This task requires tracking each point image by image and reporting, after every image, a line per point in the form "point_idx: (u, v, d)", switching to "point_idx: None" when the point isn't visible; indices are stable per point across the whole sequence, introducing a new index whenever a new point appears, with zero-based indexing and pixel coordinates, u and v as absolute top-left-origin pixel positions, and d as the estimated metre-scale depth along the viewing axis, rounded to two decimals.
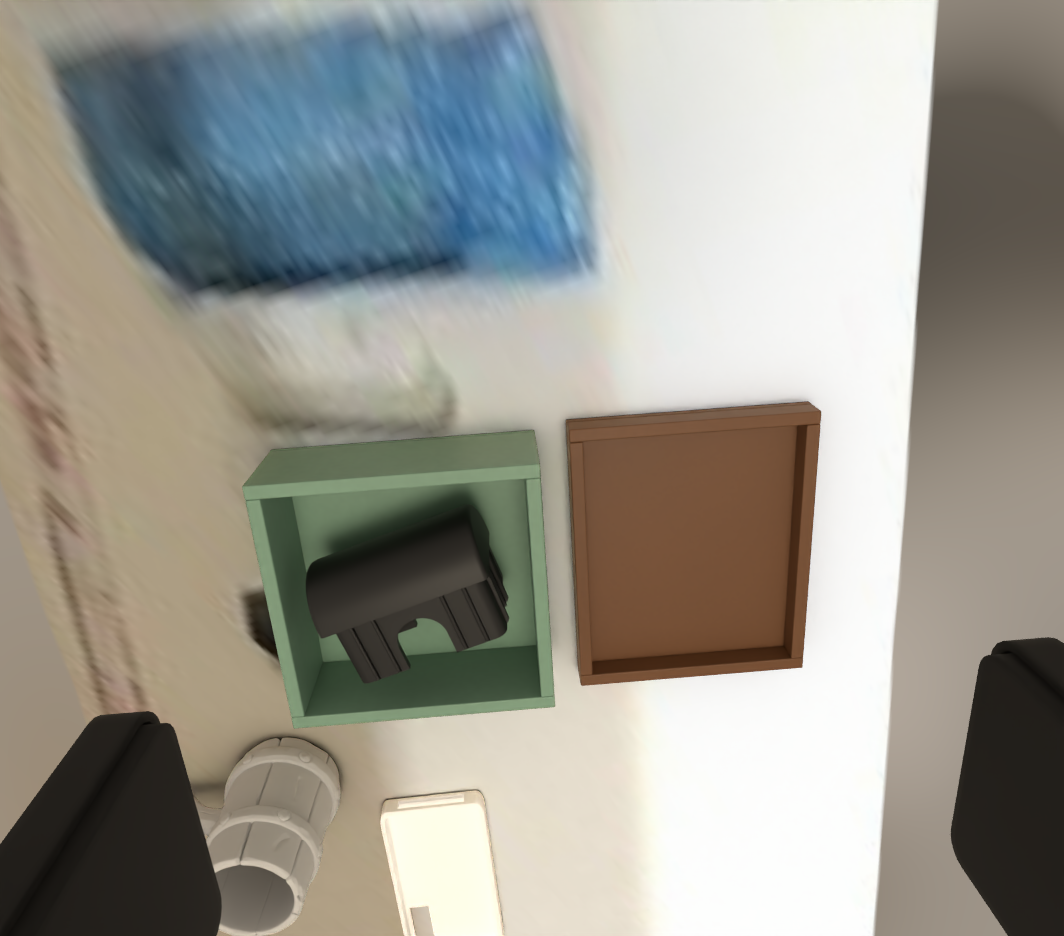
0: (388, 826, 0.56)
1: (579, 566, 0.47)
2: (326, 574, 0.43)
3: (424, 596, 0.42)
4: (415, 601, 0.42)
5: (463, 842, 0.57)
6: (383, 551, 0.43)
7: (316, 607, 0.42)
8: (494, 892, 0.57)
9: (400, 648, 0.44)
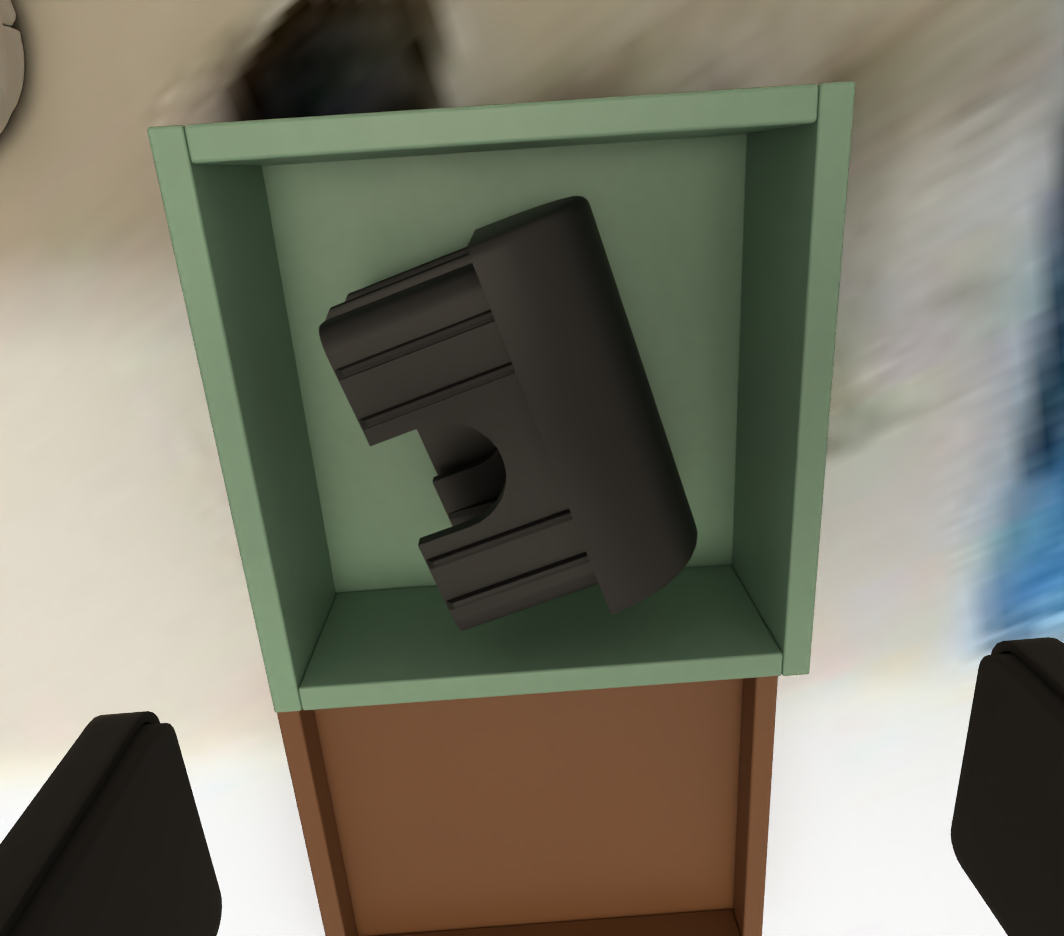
0: None
1: None
2: (598, 255, 0.19)
3: (577, 496, 0.19)
4: (566, 477, 0.19)
5: None
6: (643, 383, 0.20)
7: (545, 242, 0.17)
8: None
9: (421, 424, 0.19)
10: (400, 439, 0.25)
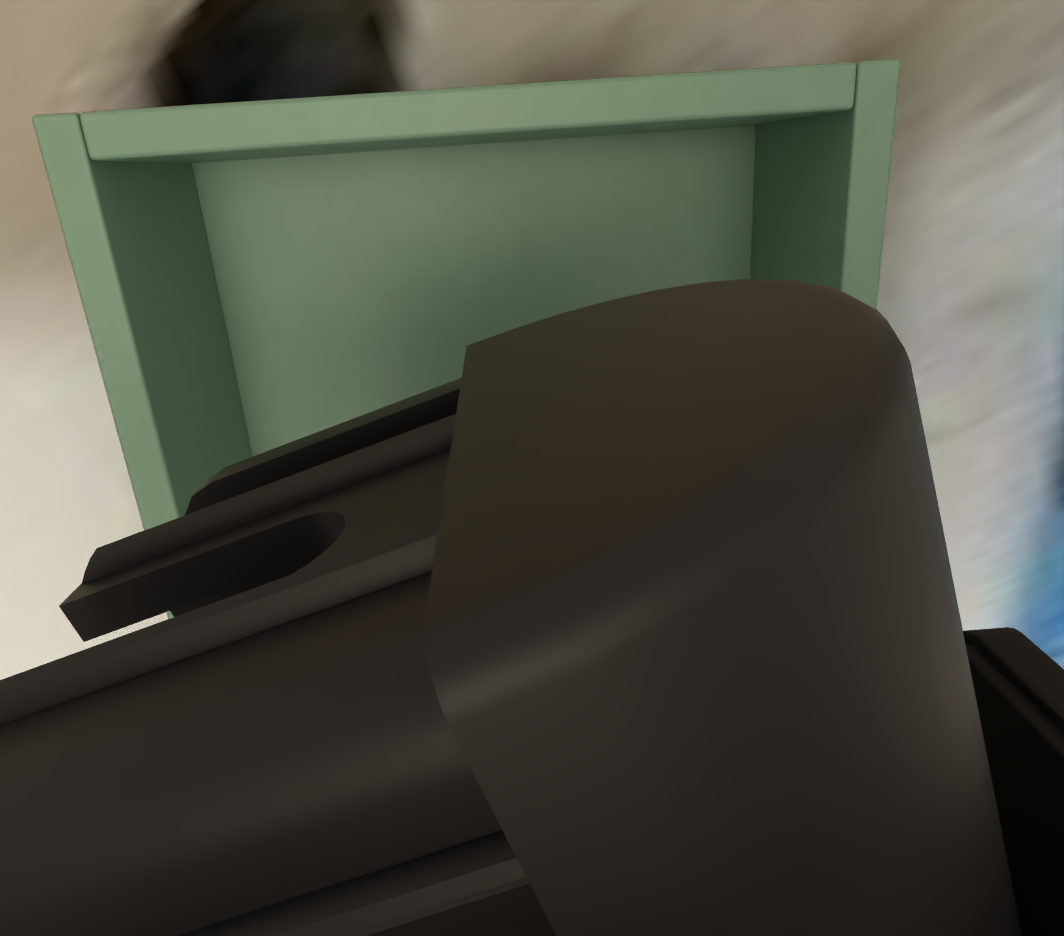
0: None
1: None
2: (941, 532, 0.05)
3: None
4: None
5: None
6: None
7: (816, 571, 0.03)
8: None
9: None
10: None
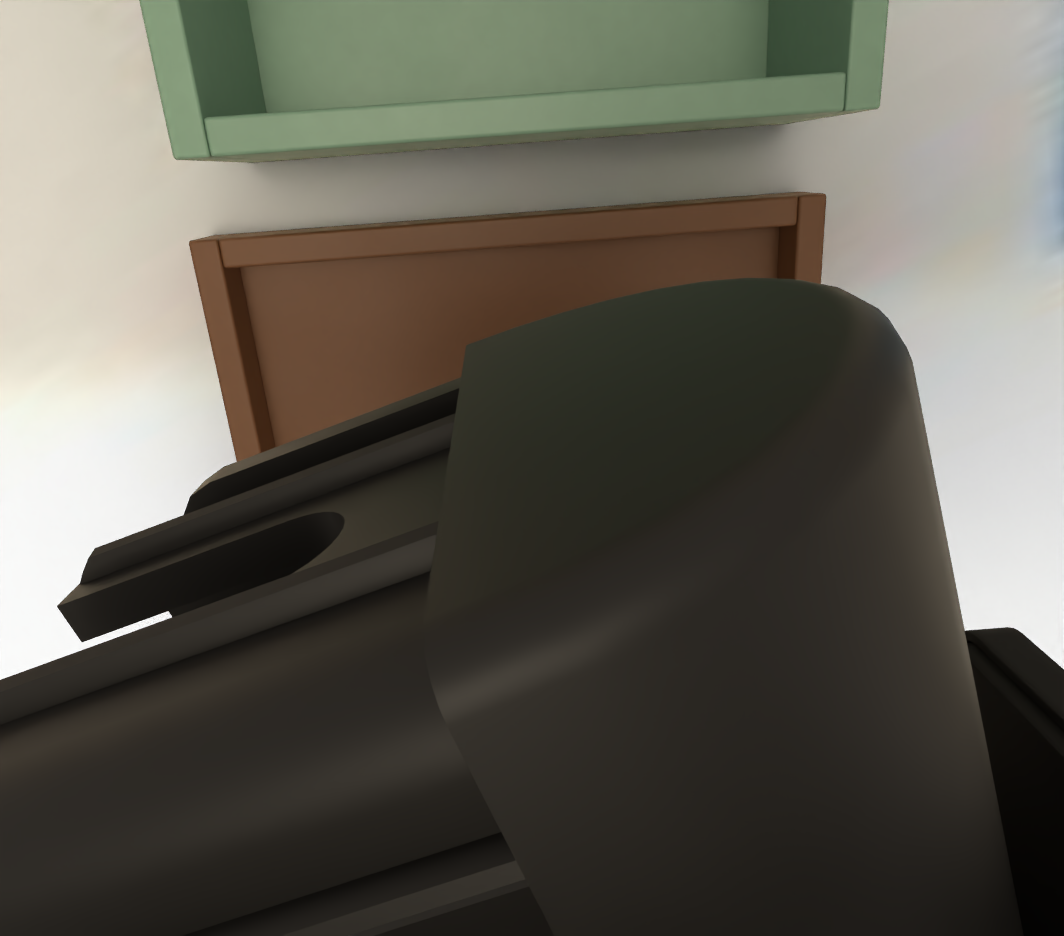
0: None
1: (510, 226, 0.21)
2: (943, 532, 0.05)
3: None
4: None
5: None
6: None
7: (818, 572, 0.03)
8: None
9: None
10: None
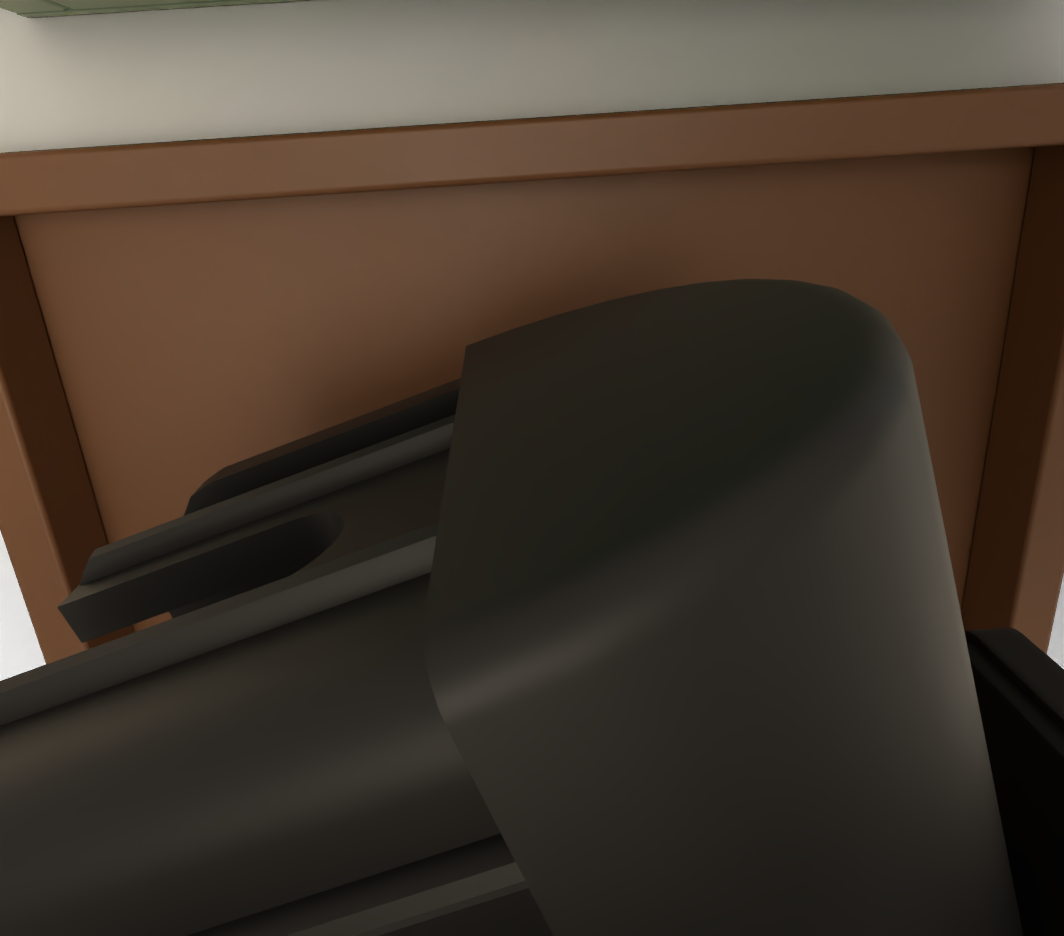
0: None
1: (531, 138, 0.11)
2: (943, 534, 0.05)
3: None
4: None
5: None
6: None
7: (817, 574, 0.03)
8: None
9: None
10: None
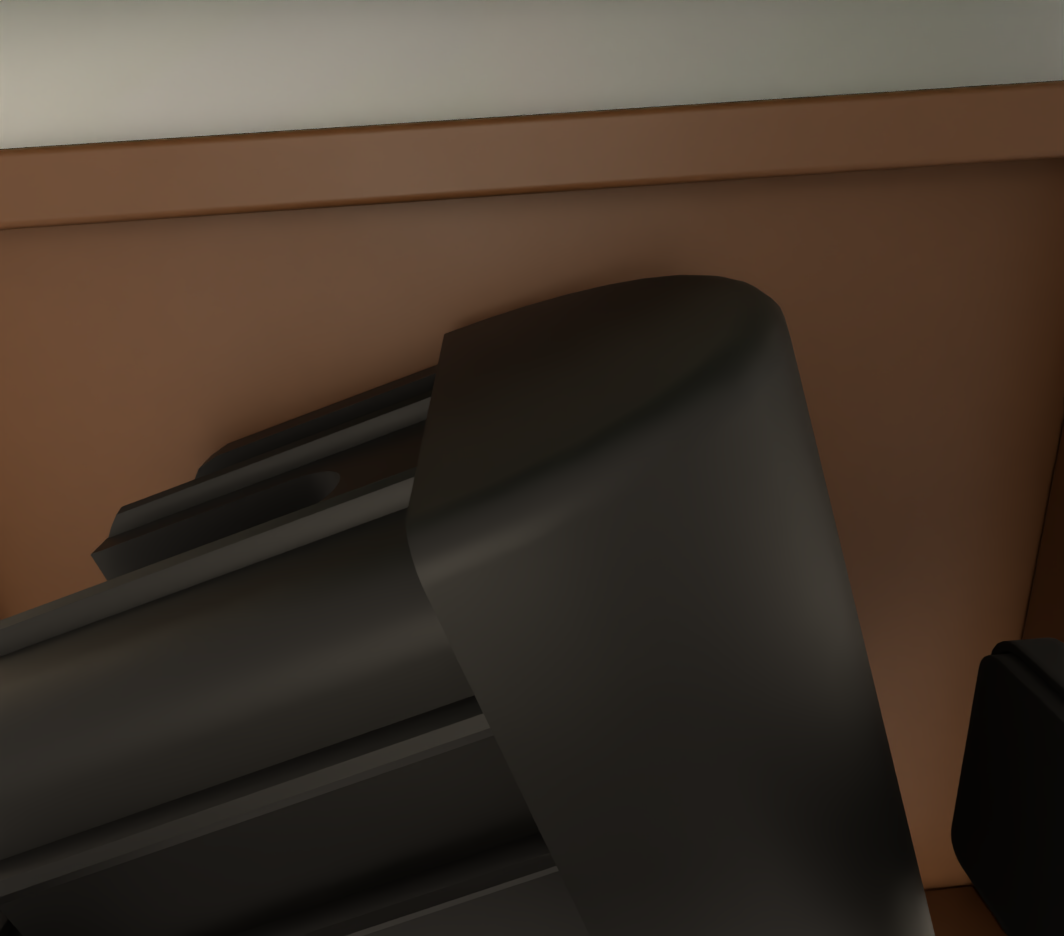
0: None
1: (504, 142, 0.08)
2: (820, 475, 0.06)
3: None
4: None
5: None
6: (896, 781, 0.07)
7: (698, 487, 0.05)
8: None
9: None
10: None
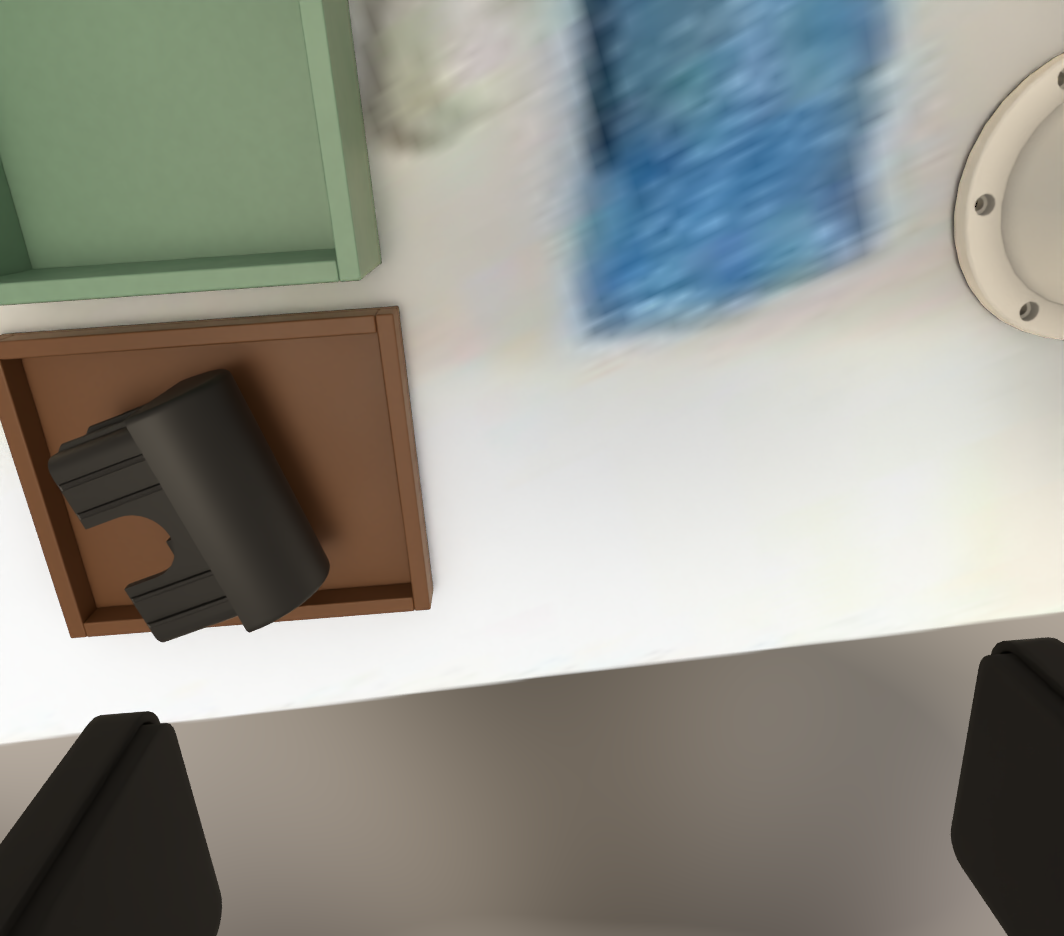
0: None
1: (186, 334, 0.33)
2: (223, 415, 0.31)
3: (213, 560, 0.31)
4: (204, 549, 0.31)
5: None
6: (266, 488, 0.32)
7: (175, 414, 0.29)
8: None
9: (118, 516, 0.31)
10: (67, 125, 0.31)
